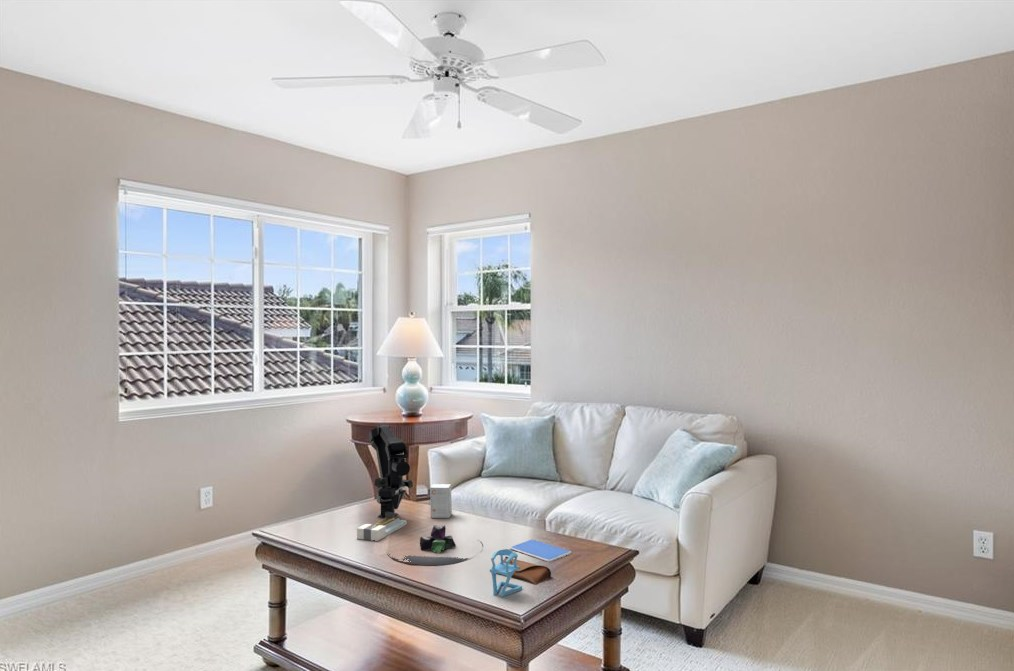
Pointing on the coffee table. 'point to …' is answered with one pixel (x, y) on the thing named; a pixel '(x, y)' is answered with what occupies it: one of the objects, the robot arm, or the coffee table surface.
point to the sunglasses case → (529, 572)
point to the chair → (504, 572)
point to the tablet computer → (541, 550)
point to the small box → (440, 500)
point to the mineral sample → (434, 548)
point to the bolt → (386, 518)
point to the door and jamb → (379, 530)
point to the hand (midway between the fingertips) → (396, 508)
